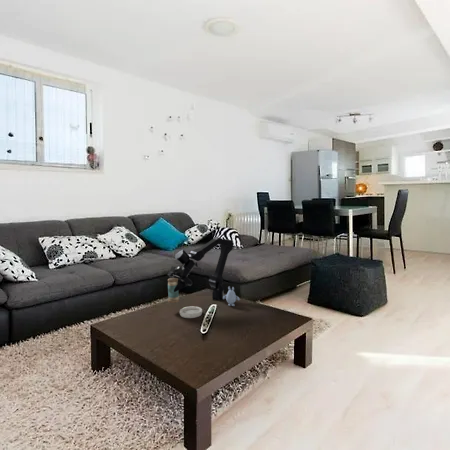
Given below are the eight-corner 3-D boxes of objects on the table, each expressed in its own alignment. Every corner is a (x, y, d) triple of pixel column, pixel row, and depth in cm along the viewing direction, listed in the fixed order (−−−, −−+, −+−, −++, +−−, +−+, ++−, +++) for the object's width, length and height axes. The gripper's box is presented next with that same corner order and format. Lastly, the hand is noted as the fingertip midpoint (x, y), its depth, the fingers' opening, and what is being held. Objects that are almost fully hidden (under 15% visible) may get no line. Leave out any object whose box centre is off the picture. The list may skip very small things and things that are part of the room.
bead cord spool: (180, 299, 204) (179, 277, 203) (177, 303, 198) (176, 281, 196) (170, 299, 205) (169, 277, 204) (166, 302, 199) (165, 280, 197)
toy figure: (241, 304, 211) (240, 285, 210) (238, 308, 206) (238, 288, 204) (224, 303, 215) (224, 284, 213) (221, 306, 209) (221, 287, 207)
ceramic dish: (203, 310, 203) (203, 306, 203) (199, 318, 191) (199, 314, 190) (183, 309, 205) (183, 306, 204) (177, 317, 193) (177, 313, 192)
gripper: (169, 258, 208) (154, 279, 203) (187, 263, 194) (170, 286, 188) (181, 268, 214) (166, 289, 209) (198, 274, 200) (183, 297, 194)
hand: (171, 290), depth 200 cm, fingers closed on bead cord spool, 6 cm apart
